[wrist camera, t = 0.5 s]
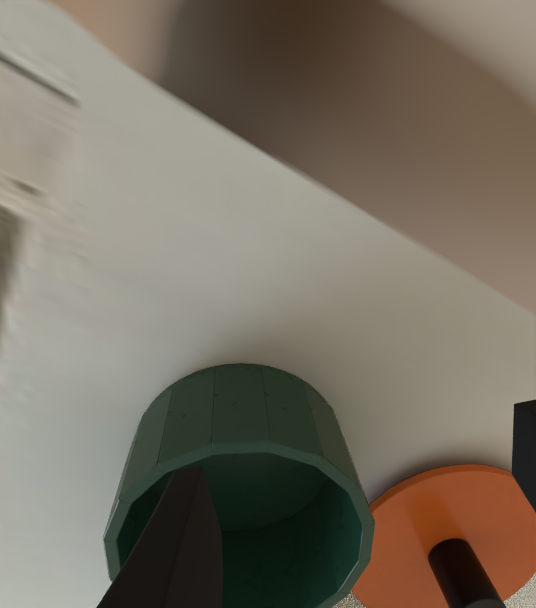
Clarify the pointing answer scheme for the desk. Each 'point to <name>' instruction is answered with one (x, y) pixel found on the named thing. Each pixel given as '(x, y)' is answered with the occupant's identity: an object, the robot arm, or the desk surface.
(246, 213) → the desk surface
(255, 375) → the tin
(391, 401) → the desk surface
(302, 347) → the desk surface
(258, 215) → the desk surface
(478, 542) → the lid
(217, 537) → the robot arm
